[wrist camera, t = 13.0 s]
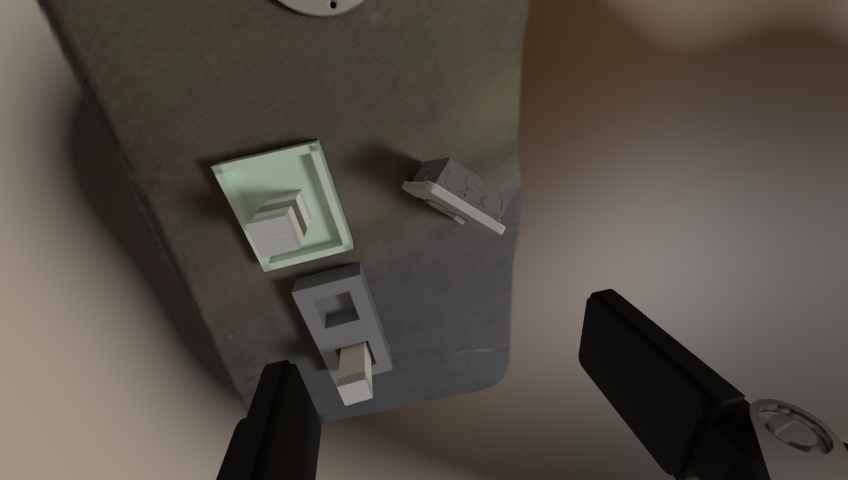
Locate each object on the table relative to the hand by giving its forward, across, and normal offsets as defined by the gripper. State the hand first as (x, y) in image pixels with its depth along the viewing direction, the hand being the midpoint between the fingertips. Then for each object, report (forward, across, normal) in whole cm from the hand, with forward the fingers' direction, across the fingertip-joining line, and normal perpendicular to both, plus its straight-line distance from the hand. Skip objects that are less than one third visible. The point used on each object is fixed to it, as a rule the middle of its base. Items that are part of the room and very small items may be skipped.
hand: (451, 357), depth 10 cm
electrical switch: (+28, -6, +3) cm, 29 cm away
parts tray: (+28, +11, +3) cm, 30 cm away
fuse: (+27, +9, +24) cm, 37 cm away
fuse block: (+27, +9, +20) cm, 35 cm away
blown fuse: (+27, +11, +3) cm, 29 cm away
